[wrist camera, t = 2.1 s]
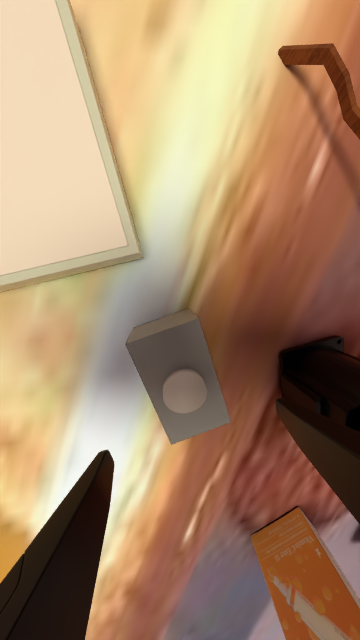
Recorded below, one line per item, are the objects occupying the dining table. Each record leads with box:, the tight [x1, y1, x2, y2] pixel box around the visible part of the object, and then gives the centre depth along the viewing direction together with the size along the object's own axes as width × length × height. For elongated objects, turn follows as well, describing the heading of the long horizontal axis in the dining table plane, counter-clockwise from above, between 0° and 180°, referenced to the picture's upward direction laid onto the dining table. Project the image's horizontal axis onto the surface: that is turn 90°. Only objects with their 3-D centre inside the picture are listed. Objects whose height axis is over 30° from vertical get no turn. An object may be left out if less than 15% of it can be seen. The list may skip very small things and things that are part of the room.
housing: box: [126, 308, 231, 445], centre depth 14 cm, size 5×9×5 cm, turn 18°
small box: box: [251, 507, 360, 640], centre depth 18 cm, size 8×6×13 cm
